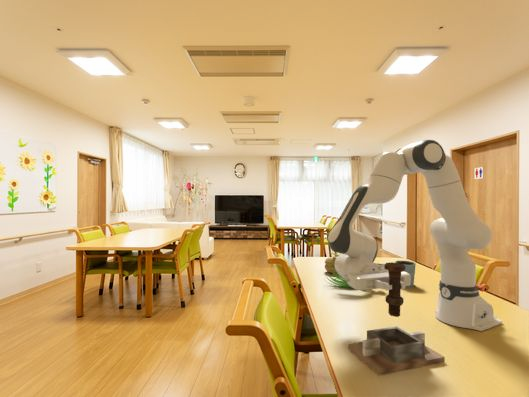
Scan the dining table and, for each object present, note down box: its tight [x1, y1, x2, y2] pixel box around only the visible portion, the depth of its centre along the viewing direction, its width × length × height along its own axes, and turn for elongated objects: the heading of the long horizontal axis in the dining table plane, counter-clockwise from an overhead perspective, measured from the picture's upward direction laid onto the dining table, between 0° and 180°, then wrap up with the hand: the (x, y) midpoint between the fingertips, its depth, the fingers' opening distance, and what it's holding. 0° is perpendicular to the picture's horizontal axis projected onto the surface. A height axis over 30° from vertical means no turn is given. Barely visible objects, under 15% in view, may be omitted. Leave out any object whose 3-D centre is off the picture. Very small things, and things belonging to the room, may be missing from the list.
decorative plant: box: [324, 251, 352, 288], centre depth 153 cm, size 26×25×30 cm
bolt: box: [384, 262, 405, 318], centre depth 86 cm, size 6×5×15 cm
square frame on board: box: [347, 326, 446, 376], centre depth 86 cm, size 22×14×6 cm, turn 107°
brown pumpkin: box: [324, 256, 338, 274], centre depth 182 cm, size 12×12×10 cm
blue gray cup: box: [394, 260, 417, 288], centre depth 158 cm, size 10×10×12 cm
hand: (396, 287), depth 85 cm, fingers closed on bolt, 3 cm apart
